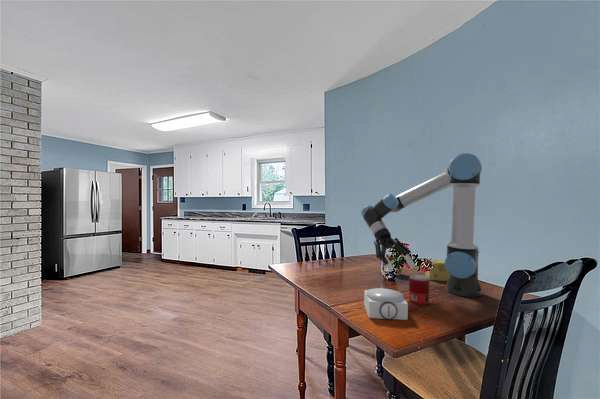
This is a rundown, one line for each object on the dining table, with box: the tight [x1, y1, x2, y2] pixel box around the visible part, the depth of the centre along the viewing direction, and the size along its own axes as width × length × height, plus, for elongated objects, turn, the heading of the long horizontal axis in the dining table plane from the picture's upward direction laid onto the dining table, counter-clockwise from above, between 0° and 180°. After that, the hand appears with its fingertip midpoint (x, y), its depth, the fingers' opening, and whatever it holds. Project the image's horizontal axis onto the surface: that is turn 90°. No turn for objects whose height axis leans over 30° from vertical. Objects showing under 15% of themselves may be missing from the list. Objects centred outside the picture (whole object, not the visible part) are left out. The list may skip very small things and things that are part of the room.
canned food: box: [408, 274, 430, 306], centre depth 127 cm, size 8×8×11 cm
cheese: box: [424, 258, 450, 282], centre depth 166 cm, size 10×11×10 cm
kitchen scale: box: [363, 287, 409, 321], centre depth 115 cm, size 14×15×7 cm
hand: (403, 268), depth 134 cm, fingers open, 13 cm apart
